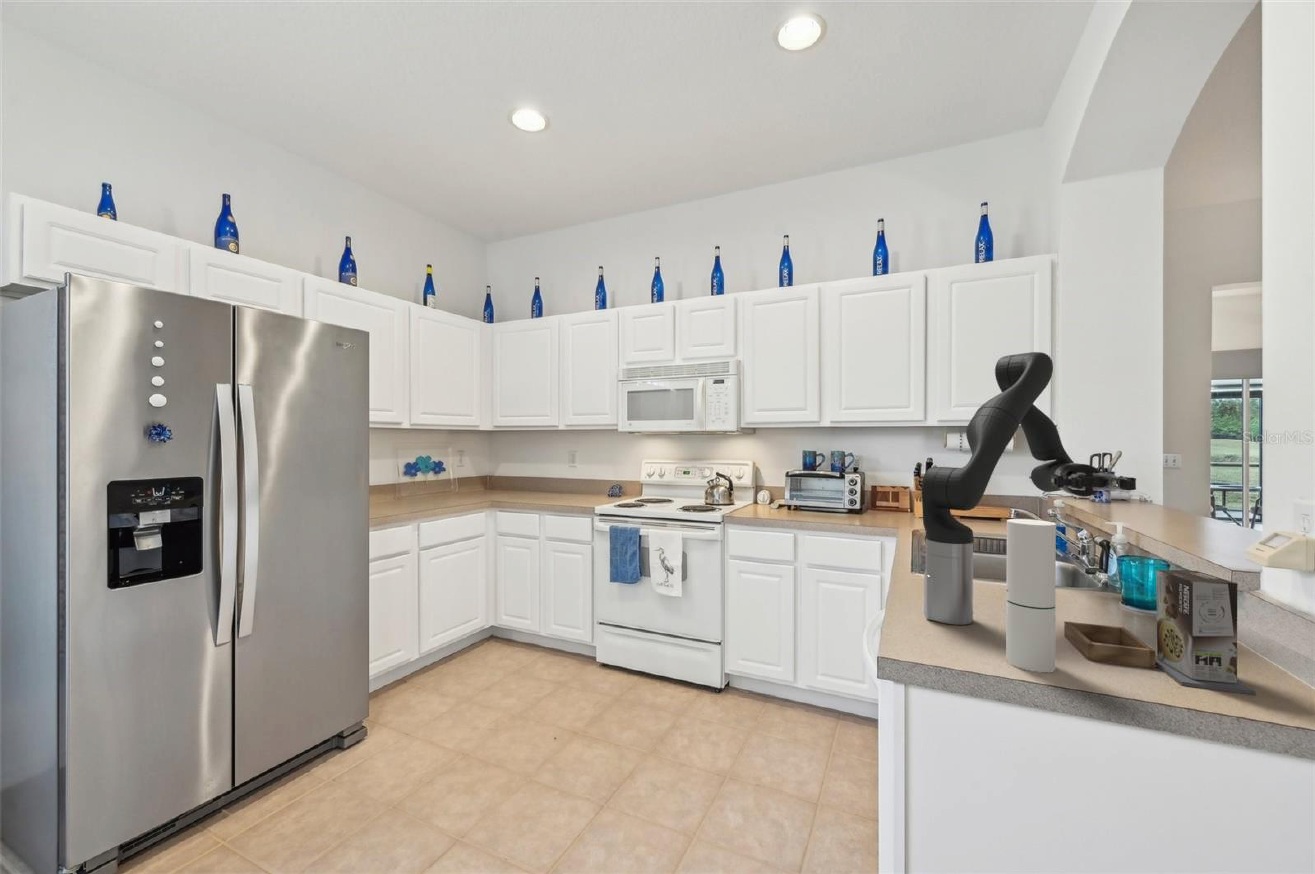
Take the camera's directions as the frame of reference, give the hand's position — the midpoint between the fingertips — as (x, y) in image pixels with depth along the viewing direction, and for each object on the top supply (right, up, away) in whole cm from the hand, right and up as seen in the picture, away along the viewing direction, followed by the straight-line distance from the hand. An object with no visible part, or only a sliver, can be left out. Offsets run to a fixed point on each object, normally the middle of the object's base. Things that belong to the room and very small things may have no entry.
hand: (1104, 484), depth 116 cm
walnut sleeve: (-11, -30, -13) cm, 34 cm away
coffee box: (-4, -30, -23) cm, 38 cm away
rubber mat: (-4, -30, -23) cm, 38 cm away
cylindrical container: (-29, -30, -19) cm, 46 cm away
